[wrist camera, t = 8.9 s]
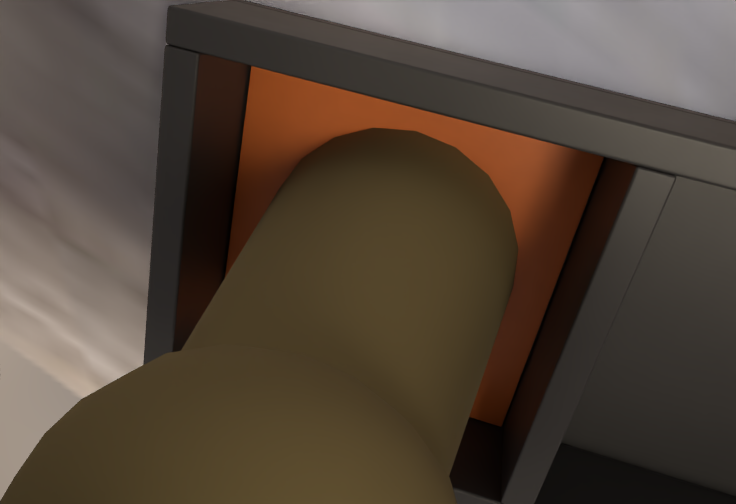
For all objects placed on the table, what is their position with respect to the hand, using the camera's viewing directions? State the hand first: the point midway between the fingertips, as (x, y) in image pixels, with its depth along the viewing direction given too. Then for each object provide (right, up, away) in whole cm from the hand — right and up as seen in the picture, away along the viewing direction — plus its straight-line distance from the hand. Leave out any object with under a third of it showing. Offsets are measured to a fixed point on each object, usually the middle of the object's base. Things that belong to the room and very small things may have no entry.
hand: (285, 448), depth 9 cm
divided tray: (+6, +2, +7) cm, 9 cm away
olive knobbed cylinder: (+2, +3, +7) cm, 7 cm away
